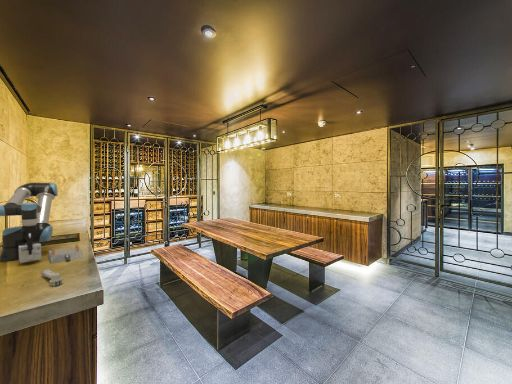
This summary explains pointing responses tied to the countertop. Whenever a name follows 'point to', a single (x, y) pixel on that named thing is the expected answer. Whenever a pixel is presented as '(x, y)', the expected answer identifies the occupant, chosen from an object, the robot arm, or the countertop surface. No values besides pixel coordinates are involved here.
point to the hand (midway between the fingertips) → (30, 257)
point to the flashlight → (52, 277)
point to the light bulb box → (24, 252)
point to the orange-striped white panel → (65, 254)
